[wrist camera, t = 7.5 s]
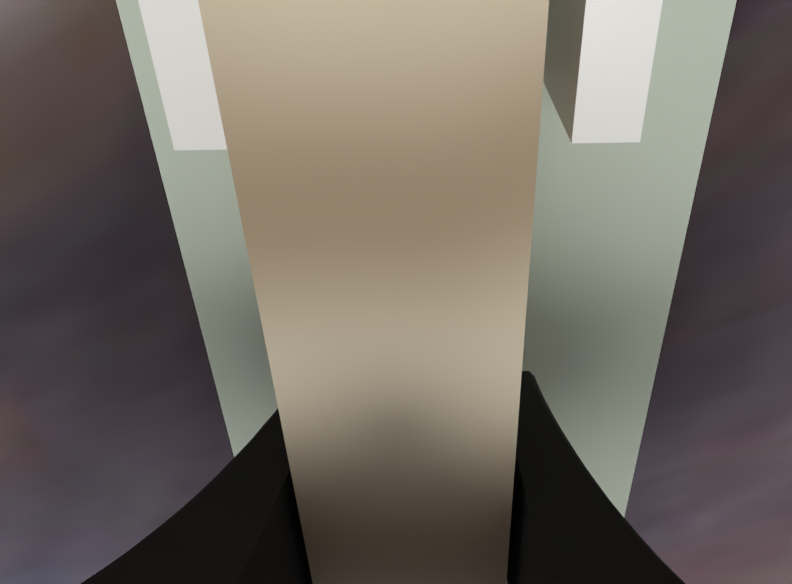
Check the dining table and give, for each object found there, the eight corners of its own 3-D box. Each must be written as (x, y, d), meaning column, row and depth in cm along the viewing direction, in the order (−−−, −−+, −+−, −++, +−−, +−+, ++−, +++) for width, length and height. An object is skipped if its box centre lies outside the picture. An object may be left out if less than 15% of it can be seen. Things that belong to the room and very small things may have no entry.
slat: (483, 584, 18) (490, 799, 13) (378, 578, 18) (352, 787, 14) (511, -67, 9) (551, -42, 5) (312, -56, 10) (193, -25, 5)
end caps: (524, 659, 20) (535, 791, 17) (345, 647, 20) (324, 773, 17) (632, -319, 8) (735, -451, 5) (191, -278, 8) (46, -376, 6)
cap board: (586, 646, 21) (590, 672, 20) (290, 628, 22) (284, 651, 21) (796, -388, 8) (826, -416, 7) (62, -317, 9) (29, -333, 8)
